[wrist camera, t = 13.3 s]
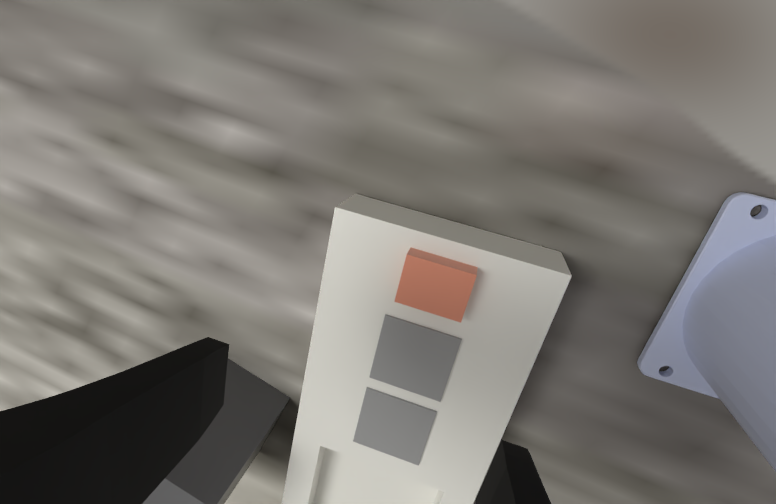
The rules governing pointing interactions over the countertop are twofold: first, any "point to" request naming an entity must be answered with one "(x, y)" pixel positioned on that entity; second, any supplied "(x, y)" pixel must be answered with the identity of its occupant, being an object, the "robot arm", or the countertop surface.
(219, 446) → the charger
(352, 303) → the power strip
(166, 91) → the countertop surface
